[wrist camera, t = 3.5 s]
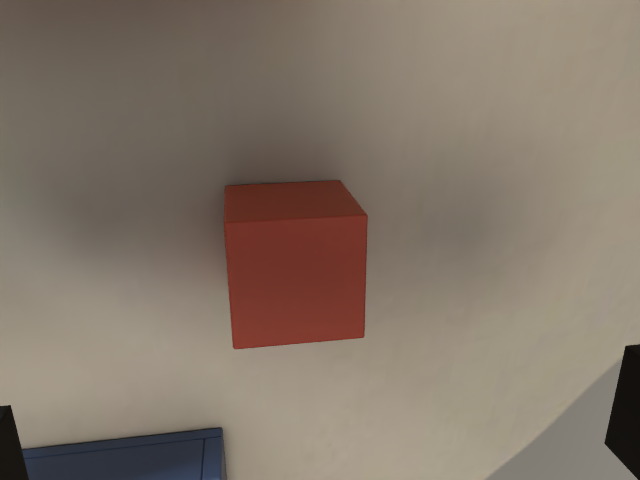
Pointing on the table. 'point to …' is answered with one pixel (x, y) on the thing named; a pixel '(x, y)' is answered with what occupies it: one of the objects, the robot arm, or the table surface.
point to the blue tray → (133, 458)
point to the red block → (295, 263)
